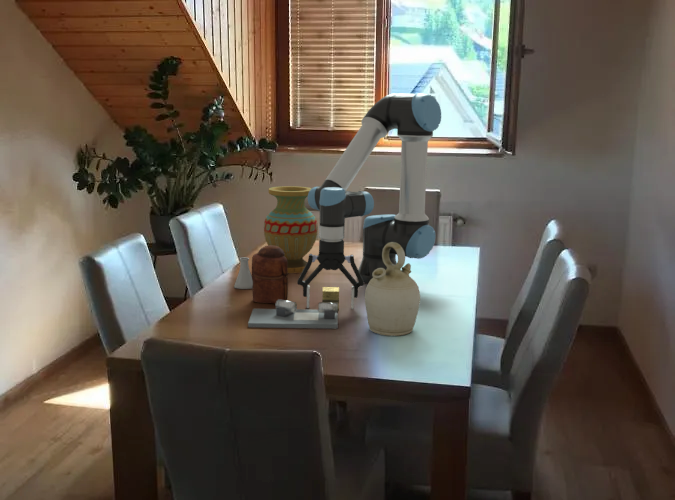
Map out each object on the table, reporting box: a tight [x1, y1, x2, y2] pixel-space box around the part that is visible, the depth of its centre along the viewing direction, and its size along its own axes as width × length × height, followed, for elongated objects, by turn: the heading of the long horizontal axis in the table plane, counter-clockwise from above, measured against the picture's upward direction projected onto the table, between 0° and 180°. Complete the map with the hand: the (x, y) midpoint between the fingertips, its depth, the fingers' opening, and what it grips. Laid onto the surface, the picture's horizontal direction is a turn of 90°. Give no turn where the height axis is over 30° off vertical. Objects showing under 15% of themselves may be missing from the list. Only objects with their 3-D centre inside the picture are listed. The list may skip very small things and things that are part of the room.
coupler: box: [321, 286, 340, 312], centre depth 221 cm, size 5×5×6 cm
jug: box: [364, 242, 421, 337], centre depth 200 cm, size 15×16×25 cm
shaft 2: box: [317, 302, 339, 319], centre depth 208 cm, size 6×4×4 cm
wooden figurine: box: [251, 244, 289, 305], centre depth 226 cm, size 12×6×18 cm, turn 84°
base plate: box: [247, 308, 339, 330], centre depth 209 cm, size 25×14×1 cm, turn 91°
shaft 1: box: [274, 299, 298, 317], centre depth 210 cm, size 6×4×4 cm
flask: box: [233, 256, 253, 290], centre depth 243 cm, size 7×7×10 cm
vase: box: [263, 185, 319, 274], centre depth 267 cm, size 20×20×30 cm
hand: (330, 307), depth 222 cm, fingers open, 13 cm apart
